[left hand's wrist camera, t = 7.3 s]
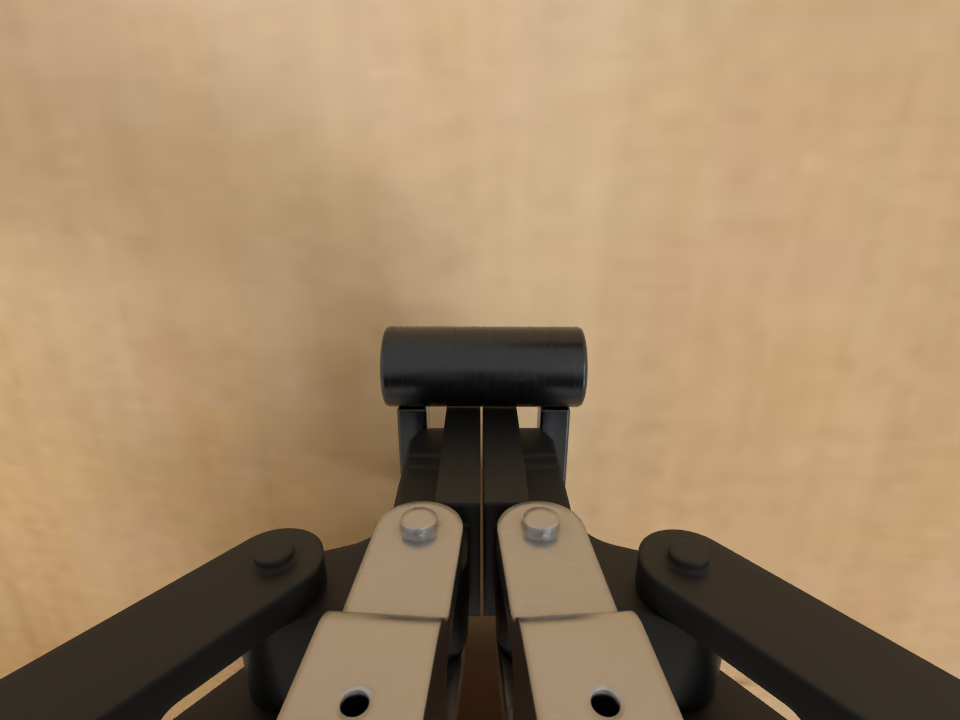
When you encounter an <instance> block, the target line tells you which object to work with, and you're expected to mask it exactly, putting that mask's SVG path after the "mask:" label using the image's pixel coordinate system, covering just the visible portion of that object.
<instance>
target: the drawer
mask: <svg viewBox="0 0 960 720" xmlns="http://www.w3.org/2000/svg"><path fill="white" fill-rule="evenodd" d="M587 371H588V363H587V347H586V341H585V336H584V333H583V331H582V329H581V328H579V327H388V328H386V330H385V332H384V335H383V339H382V345H381V356H380V378H381V389H382V395H383V399H384V401H385V404H386V405H388V406H398V409H397V417H398V435H399V452H400V470H401V474H402V470H403V466H404V462H405V458H406V453H407V449H408V445H409V441H410V440H411V439H412V438H413V437H414V436H415V435H416V434H417V433H418V432H419V431H420V430H421V429H422V428H430V422H429V406H463V407H538V418H537V428H541V429H542V430H543V431H544V432H545V433H546V434H548V435H549V436H550V437H551V438H552V439H553V440H554V444H555V448H556V452H557V457H558V460H559V464H560V469H561V472H562V476H563V480H564V484H565V480H566V465H567V450H568V435H569V419H570V409H569V407H578V406H581V405H582V403H583V400H584V397H585V393H586V386H587ZM464 653H465V654H464V667H463V675H462V684H461V692H460V701H459V709H458V717H457V720H503V716H502V708H501V699H500V691H499V683H498V674H497V666H496V620H495V616H484V615H483V469H482V468H480V616H469V623H468V638H467V641H466V644H465V645H464Z"/></svg>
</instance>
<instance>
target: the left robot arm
mask: <svg viewBox="0 0 960 720" xmlns="http://www.w3.org/2000/svg"><path fill="white" fill-rule="evenodd" d="M483 615H484V616H495V620H496V666H497V674H498V683H499V691H500V699H501V708H502V716H503V720H787V719H786V718H784V717H783V716H782V715H780V714H779V713H778V712H776V711H775V710H774V709H772V708H771V707H769V706H768V705H767V704H765V703H764V702H763V701H761V700H760V699H759V698H757V697H756V696H755V695H753V694H752V693H751V692H749V691H748V690H746V689H745V688H744V687H742V686H741V685H740V684H738V683H737V682H736V681H734V680H733V679H732V678H730V677H729V676H728V675H726V674H725V673H724V672H722V671H721V670H719V669H720V664H721V660H722V659H723V660H725V661H726V662H727V663H729V664H730V665H732V666H733V667H734V668H736V669H737V670H738V671H740V672H741V673H743V674H744V675H745V676H747V677H748V678H750V679H751V680H752V681H754V682H755V683H756V684H758V685H759V686H761V687H762V688H763V689H765V690H766V691H768V692H769V693H770V694H772V695H773V696H775V697H776V698H777V699H779V700H780V701H781V702H783V703H784V704H785V705H787V706H788V707H789V708H790V709H791V710H792V711H794V712H795V713H796V715H797V716H798V717H799V718H800V719H801V720H960V679H958V678H956V677H954V676H953V675H951V674H949V673H947V672H946V671H944V670H942V669H940V668H938V667H937V666H935V665H933V664H931V663H930V662H928V661H926V660H924V659H923V658H921V657H919V656H917V655H915V654H914V653H912V652H910V651H908V650H907V649H905V648H903V647H901V646H899V645H898V644H896V643H894V642H892V641H891V640H889V639H887V638H885V637H884V636H882V635H880V634H878V633H876V632H875V631H873V630H871V629H869V628H868V627H866V626H864V625H862V624H860V623H859V622H857V621H855V620H853V619H852V618H850V617H848V616H846V615H845V614H843V613H841V612H839V611H837V610H836V609H834V608H832V607H830V606H829V605H827V604H825V603H823V602H822V601H820V600H818V599H816V598H814V597H813V596H811V595H809V594H807V593H806V592H804V591H802V590H800V589H798V588H797V587H795V586H793V585H791V584H790V583H788V582H786V581H784V580H783V579H781V578H779V577H777V576H775V575H774V574H772V573H770V572H768V571H767V570H765V569H763V568H761V567H759V566H758V565H756V564H754V563H752V562H751V561H749V560H747V559H745V558H744V557H742V556H740V555H738V554H736V553H735V552H733V551H731V550H729V549H728V548H726V547H724V546H722V545H720V544H719V543H717V542H715V541H713V540H711V539H709V538H707V537H705V536H703V535H700V534H697V533H693V532H690V531H684V530H662V531H658V532H654V533H652V534H650V535H648V536H647V537H646V538H644V539H643V541H642V542H641V544H640V547H639V551H638V550H633V549H629V548H625V547H620V546H616V545H612V544H608V543H606V542H603V541H600V540H598V539H596V538H594V537H592V536H591V535H589V534H588V533H587V531H586V529H585V526H584V524H583V522H582V520H581V519H580V518H579V517H578V516H577V515H576V514H575V513H574V512H572V511H571V509H570V504H569V500H568V496H567V492H566V488H565V484H564V480H563V476H562V472H561V469H560V464H559V460H558V457H557V452H556V448H555V444H554V440H553V439H552V438H551V437H550V436H549V435H548V434H546V433H545V432H544V431H543V430H542V429H541V428H519V423H518V416H517V409H516V407H483ZM469 616H480V407H463V406H447V410H446V418H445V426H444V428H422V429H421V430H420V431H419V432H418V433H417V434H416V435H415V436H414V437H413V438H412V439H411V440H410V441H409V445H408V449H407V453H406V458H405V462H404V466H403V470H402V474H401V479H400V483H399V487H398V491H397V496H396V500H395V504H394V508H393V509H391V510H389V511H388V512H386V513H385V514H384V515H383V516H382V517H381V518H380V519H379V521H378V523H377V524H376V527H375V529H374V532H373V534H372V537H370V538H368V539H366V540H364V541H362V542H359V543H357V544H353V545H349V546H345V547H341V548H336V549H332V550H327V551H324V550H323V545H322V542H321V541H320V539H319V538H318V537H317V536H315V535H314V534H312V533H310V532H308V531H305V530H301V529H294V528H285V529H277V530H271V531H268V532H264V533H262V534H259V535H256V536H254V537H252V538H250V539H248V540H247V541H245V542H243V543H241V544H239V545H238V546H236V547H234V548H232V549H231V550H229V551H227V552H225V553H224V554H222V555H220V556H218V557H216V558H215V559H213V560H211V561H209V562H208V563H206V564H204V565H202V566H200V567H199V568H197V569H195V570H193V571H192V572H190V573H188V574H186V575H185V576H183V577H181V578H179V579H177V580H176V581H174V582H172V583H170V584H169V585H167V586H165V587H163V588H162V589H160V590H158V591H156V592H154V593H153V594H151V595H149V596H147V597H146V598H144V599H142V600H140V601H138V602H137V603H135V604H133V605H131V606H130V607H128V608H126V609H124V610H123V611H121V612H119V613H117V614H115V615H114V616H112V617H110V618H108V619H107V620H105V621H103V622H101V623H100V624H98V625H96V626H94V627H92V628H91V629H89V630H87V631H85V632H84V633H82V634H80V635H78V636H76V637H75V638H73V639H71V640H69V641H68V642H66V643H64V644H62V645H61V646H59V647H57V648H55V649H53V650H52V651H50V652H48V653H46V654H45V655H43V656H41V657H39V658H37V659H36V660H34V661H32V662H30V663H29V664H27V665H25V666H23V667H22V668H20V669H18V670H16V671H14V672H13V673H11V674H9V675H7V676H6V677H4V678H2V679H0V720H161V719H162V718H163V716H164V715H165V714H166V713H167V711H168V710H169V709H170V708H171V707H172V706H174V705H175V704H176V703H177V702H179V701H180V700H181V699H183V698H184V697H185V696H187V695H188V694H190V693H191V692H192V691H194V690H195V689H197V688H198V687H199V686H201V685H202V684H203V683H205V682H206V681H208V680H209V679H210V678H212V677H213V676H215V675H216V674H217V673H219V672H220V671H221V670H223V669H224V668H226V667H227V666H228V665H230V664H231V663H233V662H234V661H235V660H237V659H238V658H239V657H241V656H242V657H243V662H244V667H243V668H242V669H241V670H239V671H238V672H236V673H235V674H234V675H232V676H231V677H230V678H228V679H227V680H226V681H224V682H223V683H222V684H220V685H219V686H218V687H216V688H215V689H214V690H212V691H211V692H209V693H208V694H207V695H205V696H204V697H203V698H201V699H200V700H199V701H197V702H196V703H195V704H193V705H192V706H191V707H189V708H188V709H186V710H185V711H184V712H182V713H181V714H180V715H178V716H177V717H176V718H174V719H173V720H457V717H458V709H459V701H460V692H461V684H462V675H463V667H464V654H465V653H464V645H465V644H466V641H467V638H468V623H469Z"/></svg>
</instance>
